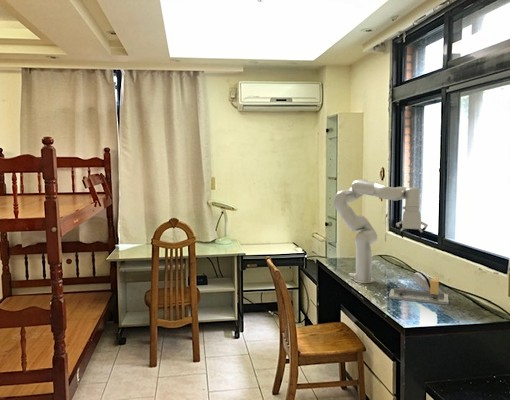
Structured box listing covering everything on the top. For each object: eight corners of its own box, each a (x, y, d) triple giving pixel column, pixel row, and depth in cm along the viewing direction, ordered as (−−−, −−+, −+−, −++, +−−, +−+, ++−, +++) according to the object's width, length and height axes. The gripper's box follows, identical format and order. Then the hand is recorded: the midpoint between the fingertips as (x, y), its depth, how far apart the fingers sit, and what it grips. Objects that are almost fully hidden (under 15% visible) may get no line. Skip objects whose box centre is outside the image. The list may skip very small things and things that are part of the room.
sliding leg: (430, 297, 235) (430, 281, 234) (430, 293, 242) (430, 277, 241) (438, 298, 234) (438, 282, 233) (437, 294, 240) (438, 278, 240)
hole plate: (388, 298, 239) (389, 295, 239) (391, 291, 252) (391, 288, 252) (448, 304, 228) (448, 302, 228) (447, 296, 241) (447, 294, 241)
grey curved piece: (437, 291, 251) (431, 275, 250) (429, 293, 251) (424, 278, 250) (424, 282, 268) (419, 267, 267) (417, 285, 268) (412, 270, 267)
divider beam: (393, 294, 242) (393, 289, 242) (394, 290, 249) (394, 285, 249) (444, 299, 232) (444, 294, 232) (443, 295, 239) (444, 290, 239)
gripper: (395, 209, 251) (395, 238, 253) (428, 210, 244) (427, 240, 246) (396, 207, 258) (396, 236, 260) (428, 208, 251) (427, 238, 253)
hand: (411, 238), depth 253 cm, fingers open, 9 cm apart
